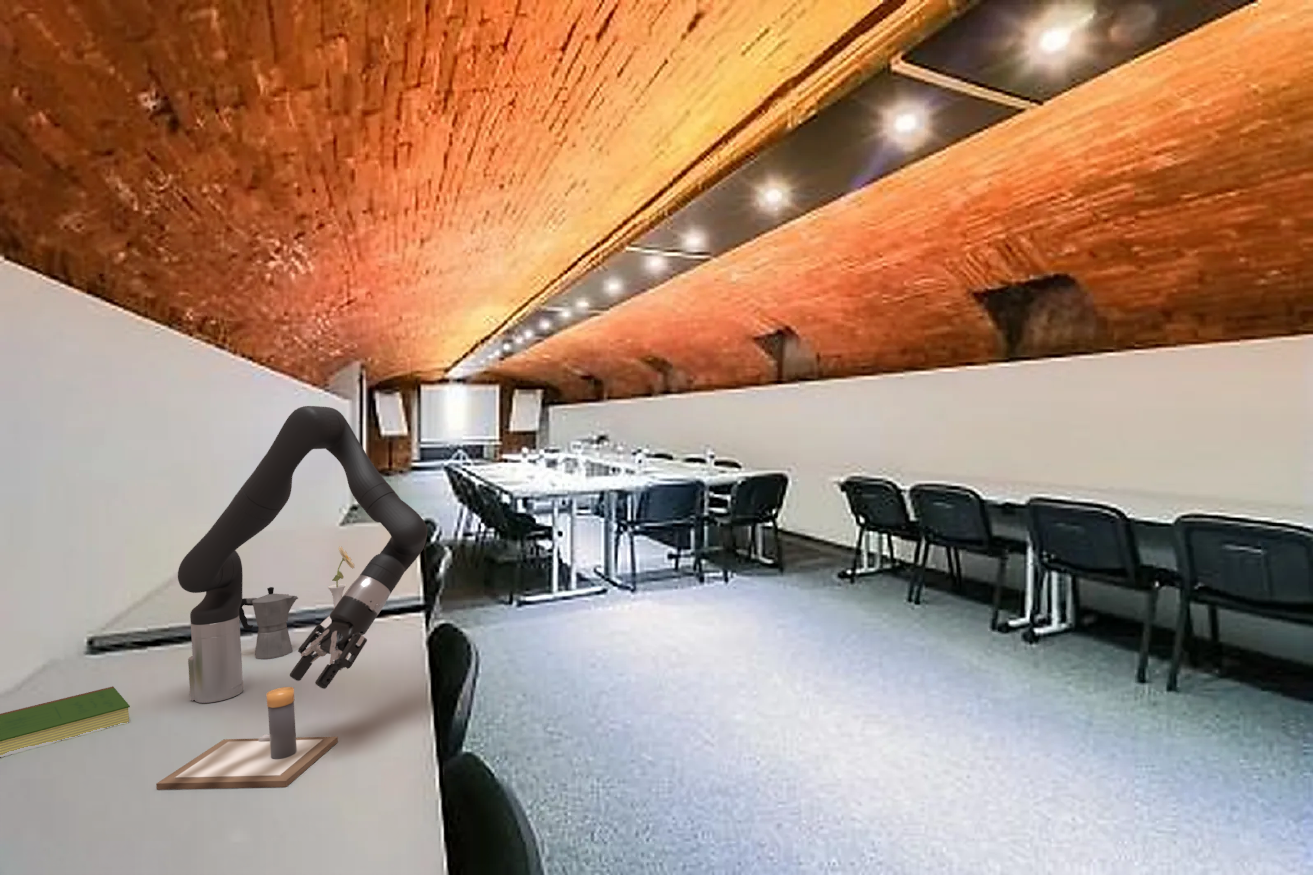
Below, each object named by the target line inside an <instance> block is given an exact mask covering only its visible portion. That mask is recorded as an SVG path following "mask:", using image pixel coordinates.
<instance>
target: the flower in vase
mask: <svg viewBox="0 0 1313 875" xmlns="http://www.w3.org/2000/svg"><path fill="white" fill-rule="evenodd" d="M338 550H339V551H338V552H339V553H340V555H341V556H342V560H341V561H340V563H339V565H338V568H337V571H336V575H334V577H333V579H332V581H333V582H336V583H335V584H331V585H329V586H327V589H328V590H329V591H330V592H331V596H332V599H333V609H334V608H335V607H336V605H337V604H338V602H339V601H340V600H341V598H342V597H343V595H344V594H343V593H344V590H345V588H346V587H347V584H346V583H339V580H343V579H344V575H343V572H342V571H340V568H341V567H342V564H343V562H345V563H346V564H347V566H348V567H350V569H355V563H353V562H352V560H353V559H352V558H351V556H350V557H349V555H348V553H347V551H346V550H344V547H343V546H338ZM331 622H332V620H331V618H330V615H329V616H327V617H326V618H324V620H323V621H322V622H321V623H320V625H322V626H323V627H324V628H327V627H328V626H329V625H330V624H331Z"/></svg>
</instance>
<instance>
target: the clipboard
mask: <svg viewBox="0 0 1313 875" xmlns="http://www.w3.org/2000/svg"><path fill="white" fill-rule="evenodd" d="M338 742H339V736H312V737H311V736H309V737H307V736H306V737H304V736H303V737H301V736H300V737H298V736H297V737H296V746H297V752H296V753H295V754H293V755H292V756H289V757H287V758H283V759H272V758H271V750H270V733H269V734H265V733H264V734H263V735H261V736H260V737H259V738H225V739H222V740H221V741H219V742H218V743H216V744H215V745H213V746H211V747H210V748H208V749H207V750H205V751H204V752H202V753H201V754H199V755H197V756H196V757H194V758H193V759H191V760H190V761H189V762H187V763H184V765H182V766H181V767H179V768H177V769H175V771H173V772H172V773H170V774H168V775H167V776H166V777H164V778H163V779H161V780H159V781H158V782H156V785H155V787H156V790H159V791H161V790H198V789H200V790H202V789H207V790H208V789H210V790H211V789H251V788H252V789H253V788H287V787H288V786H289V785H290V784H291V783H293V782H294V781H295V780H296V779H297V778H298V777H300V776H301V775H302V774H303V773H305V771H306V770H308V769H309V768H310V767H311V766H312V765H314V763H316V762H317V761H318V760H319V759H320V758H322V757H323V756H324V755H325V754H326V753H327V752H328V751H329V750H330V749H332V748H333V747H334V746H335V745H336V744H337V743H338ZM332 746H333V747H332ZM331 747H332V748H331Z"/></svg>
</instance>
